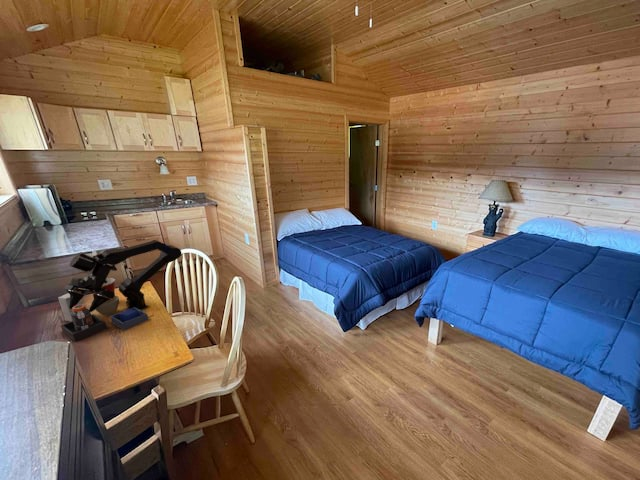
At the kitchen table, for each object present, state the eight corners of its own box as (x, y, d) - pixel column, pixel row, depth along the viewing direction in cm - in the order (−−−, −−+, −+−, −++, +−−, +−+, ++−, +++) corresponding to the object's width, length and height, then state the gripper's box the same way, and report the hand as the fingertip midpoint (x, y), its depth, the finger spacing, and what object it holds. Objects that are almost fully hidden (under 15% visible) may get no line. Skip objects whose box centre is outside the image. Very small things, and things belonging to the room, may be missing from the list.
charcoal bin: (94, 320, 136) (92, 314, 135) (107, 328, 131) (105, 322, 130) (62, 332, 127) (60, 325, 125) (75, 341, 122) (72, 334, 121)
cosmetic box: (73, 322, 133) (65, 298, 129) (65, 320, 134) (57, 297, 130) (87, 315, 139) (79, 292, 134) (79, 314, 140) (72, 291, 135)
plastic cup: (107, 296, 156) (101, 275, 151) (126, 299, 155) (120, 278, 150) (86, 306, 146) (79, 284, 141) (106, 309, 145) (100, 287, 140)
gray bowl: (127, 311, 145) (123, 298, 142) (103, 320, 136) (99, 307, 134) (113, 306, 148) (110, 293, 146) (90, 315, 140) (86, 301, 137)
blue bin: (136, 313, 144) (135, 307, 143) (148, 320, 140) (147, 313, 138) (111, 322, 135) (110, 316, 134) (123, 330, 131) (122, 323, 130)
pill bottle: (92, 331, 128) (85, 308, 123) (74, 334, 125) (66, 311, 121) (96, 324, 133) (89, 302, 128) (79, 327, 130) (71, 304, 126)
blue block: (130, 317, 140) (128, 308, 138) (138, 319, 139) (136, 310, 137) (121, 322, 136) (119, 313, 134) (129, 324, 135) (127, 315, 133)
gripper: (62, 266, 125) (41, 301, 119) (101, 271, 123) (82, 308, 117) (86, 276, 135) (68, 309, 129) (122, 281, 133) (106, 315, 127)
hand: (80, 310), depth 126 cm, fingers open, 9 cm apart
